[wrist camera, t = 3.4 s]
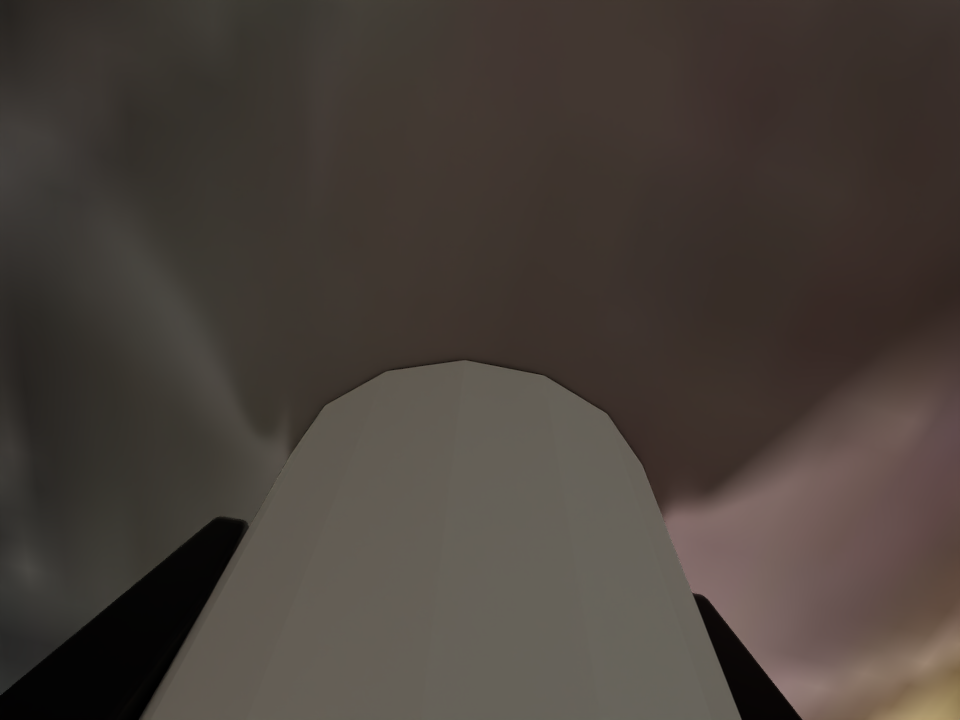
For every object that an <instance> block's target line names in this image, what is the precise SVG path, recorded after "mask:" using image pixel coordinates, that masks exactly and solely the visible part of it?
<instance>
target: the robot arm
mask: <svg viewBox="0 0 960 720" xmlns="http://www.w3.org/2000/svg"><path fill="white" fill-rule="evenodd" d="M248 528H249V527H248V523H247V522H246V521H244V520H241V519H235V518H229V517H217V518H215V519H213V520H212V521H211V522H210V523H208V524H207V525H206V526H205V527H204V528H202V529H201V530H200V531H199V532H198V533H196V534H195V535H194V536H193V537H192V538H190V539H189V540H188V541H187V542H185V543H184V544H183V545H182V546H181V547H179V548H178V549H177V550H176V551H175V552H173V553H172V554H171V555H170V556H169V557H167V558H166V559H165V560H164V561H162V562H161V563H160V564H159V565H158V566H156V567H155V568H154V569H153V570H152V571H150V572H149V573H148V574H147V575H146V576H144V577H143V578H142V579H141V580H139V581H138V582H137V583H136V584H135V585H133V586H132V587H131V588H130V589H129V590H127V591H126V592H125V593H124V594H123V595H121V596H120V597H119V598H118V599H116V600H115V601H114V602H113V603H112V604H110V605H109V606H108V607H107V608H106V609H104V610H103V611H102V612H101V613H100V614H98V615H97V616H96V617H95V618H93V619H92V620H91V621H90V622H89V623H87V624H86V625H85V626H84V627H83V628H81V629H80V630H79V631H78V632H77V633H75V634H74V635H73V636H72V637H70V638H69V639H68V640H67V641H66V642H64V643H63V644H62V645H61V646H60V647H58V648H57V649H56V650H55V651H54V652H52V653H51V654H50V655H49V656H47V657H46V658H45V659H44V660H43V661H41V662H40V663H39V664H38V665H37V666H35V667H34V668H33V669H32V670H31V671H29V672H28V673H27V674H26V675H24V676H23V677H22V678H21V679H20V680H18V681H17V682H16V683H15V684H14V685H12V686H11V687H10V688H9V689H8V690H6V691H5V692H4V693H3V694H2V695H0V720H139V718H140V716H141V715H142V713H143V711H144V709H145V708H146V706H147V704H148V702H149V701H150V699H151V697H152V695H153V694H154V692H155V690H156V689H157V687H158V685H159V683H160V682H161V680H162V678H163V676H164V675H165V673H166V671H167V669H168V668H169V666H170V664H171V662H172V661H173V659H174V657H175V655H176V654H177V652H178V650H179V648H180V647H181V645H182V643H183V641H184V640H185V638H186V636H187V635H188V633H189V631H190V629H191V628H192V626H193V624H194V623H195V621H196V619H197V617H198V616H199V614H200V612H201V611H202V609H203V607H204V605H205V604H206V602H207V600H208V598H209V597H210V595H211V593H212V591H213V589H214V588H215V586H216V584H217V582H218V580H219V579H220V577H221V575H222V574H223V572H224V570H225V568H226V567H227V565H228V563H229V561H230V560H231V558H232V556H233V554H234V553H235V551H236V549H237V547H238V546H239V544H240V542H241V540H242V539H243V537H244V535H245V533H246V532H247V530H248ZM692 594H693V597H694V599H695V602H696V604H697V607H698V609H699V612H700V614H701V617H702V620H703V622H704V625H705V627H706V630H707V632H708V635H709V638H710V640H711V643H712V645H713V648H714V650H715V653H716V655H717V658H718V661H719V663H720V666H721V668H722V671H723V673H724V676H725V679H726V681H727V684H728V686H729V689H730V691H731V694H732V697H733V699H734V702H735V704H736V707H737V709H738V712H739V714H740V717H741V720H802V719H801V717H800V716H799V715H798V714H797V712H796V711H795V710H794V708H793V707H792V706H791V705H790V703H789V702H788V701H787V700H786V698H785V697H784V696H783V694H782V693H781V692H780V691H779V689H778V688H777V687H776V686H775V684H774V683H773V682H772V680H771V679H770V678H769V677H768V675H767V674H766V673H765V672H764V670H763V669H762V668H761V666H760V665H759V664H758V663H757V661H756V660H755V659H754V658H753V656H752V655H751V654H750V652H749V651H748V650H747V649H746V647H745V646H744V645H743V644H742V642H741V641H740V640H739V638H738V637H737V636H736V635H735V633H734V632H733V631H732V630H731V628H730V627H729V626H728V624H727V623H726V622H725V621H724V619H723V618H722V617H721V616H720V614H719V613H718V612H717V610H716V609H715V608H714V607H713V605H712V604H711V603H710V602H709V600H708V599H707V598H705V597H704V596H703V595H700V594H695V593H692Z"/></svg>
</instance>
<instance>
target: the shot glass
mask: <svg viewBox="0 0 960 720" xmlns="http://www.w3.org/2000/svg"><path fill="white" fill-rule="evenodd" d="M139 720H741V717H740V714H739V712H738V709H737V707H736V704H735V702H734V699H733V697H732V694H731V691H730V689H729V686H728V684H727V681H726V679H725V676H724V673H723V671H722V668H721V666H720V663H719V661H718V658H717V655H716V653H715V650H714V648H713V645H712V643H711V640H710V638H709V635H708V632H707V630H706V627H705V625H704V622H703V620H702V617H701V614H700V612H699V609H698V607H697V604H696V602H695V599H694V597H693V594H692V591H691V589H690V586H689V584H688V581H687V579H686V576H685V573H684V571H683V568H682V566H681V563H680V561H679V558H678V556H677V553H676V550H675V548H674V545H673V543H672V540H671V538H670V535H669V532H668V530H667V527H666V525H665V522H664V520H663V517H662V515H661V512H660V509H659V507H658V504H657V502H656V499H655V497H654V494H653V491H652V489H651V486H650V484H649V481H648V479H647V476H646V473H645V471H644V468H643V466H642V464H641V462H640V461H639V460H638V458H637V457H636V455H635V454H634V452H633V451H632V449H631V448H630V446H629V445H628V444H627V442H626V441H625V439H624V438H623V436H622V435H621V433H620V432H619V430H618V429H617V427H616V426H615V425H614V423H613V422H612V420H611V419H610V417H609V416H608V414H607V413H605V412H603V411H602V410H600V409H598V408H597V407H595V406H594V405H592V404H590V403H589V402H587V401H585V400H584V399H582V398H580V397H579V396H577V395H575V394H574V393H572V392H570V391H569V390H567V389H566V388H564V387H562V386H561V385H559V384H557V383H556V382H554V381H552V380H551V379H549V378H547V377H546V376H544V375H539V374H533V373H528V372H523V371H518V370H513V369H508V368H503V367H498V366H492V365H487V364H482V363H477V362H472V361H467V360H463V361H455V362H448V363H441V364H434V365H427V366H420V367H413V368H406V369H399V370H392V371H386V372H384V373H382V374H381V375H379V376H377V377H375V378H373V379H372V380H370V381H368V382H366V383H364V384H363V385H361V386H359V387H357V388H355V389H354V390H352V391H350V392H348V393H346V394H345V395H343V396H341V397H339V398H338V399H336V400H334V401H332V402H330V403H329V404H327V405H325V406H324V408H323V409H322V410H321V412H320V413H319V415H318V416H317V418H316V419H315V420H314V422H313V423H312V425H311V426H310V428H309V429H308V430H307V432H306V433H305V435H304V436H303V438H302V439H301V441H300V442H299V443H298V445H297V446H296V448H295V449H294V451H293V452H292V453H291V455H290V457H289V459H288V460H287V462H286V464H285V465H284V467H283V469H282V471H281V472H280V474H279V476H278V478H277V479H276V481H275V483H274V485H273V486H272V488H271V490H270V492H269V493H268V495H267V497H266V499H265V500H264V502H263V504H262V506H261V507H260V509H259V511H258V513H257V514H256V516H255V518H254V520H253V521H252V523H251V525H250V526H249V528H248V530H247V532H246V533H245V535H244V537H243V539H242V540H241V542H240V544H239V546H238V547H237V549H236V551H235V553H234V554H233V556H232V558H231V560H230V561H229V563H228V565H227V567H226V568H225V570H224V572H223V574H222V575H221V577H220V579H219V580H218V582H217V584H216V586H215V588H214V589H213V591H212V593H211V595H210V597H209V598H208V600H207V602H206V604H205V605H204V607H203V609H202V611H201V612H200V614H199V616H198V617H197V619H196V621H195V623H194V624H193V626H192V628H191V629H190V631H189V633H188V635H187V636H186V638H185V640H184V641H183V643H182V645H181V647H180V648H179V650H178V652H177V654H176V655H175V657H174V659H173V661H172V662H171V664H170V666H169V668H168V669H167V671H166V673H165V675H164V676H163V678H162V680H161V682H160V683H159V685H158V687H157V689H156V690H155V692H154V694H153V695H152V697H151V699H150V701H149V702H148V704H147V706H146V708H145V709H144V711H143V713H142V715H141V716H140V718H139Z"/></svg>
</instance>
